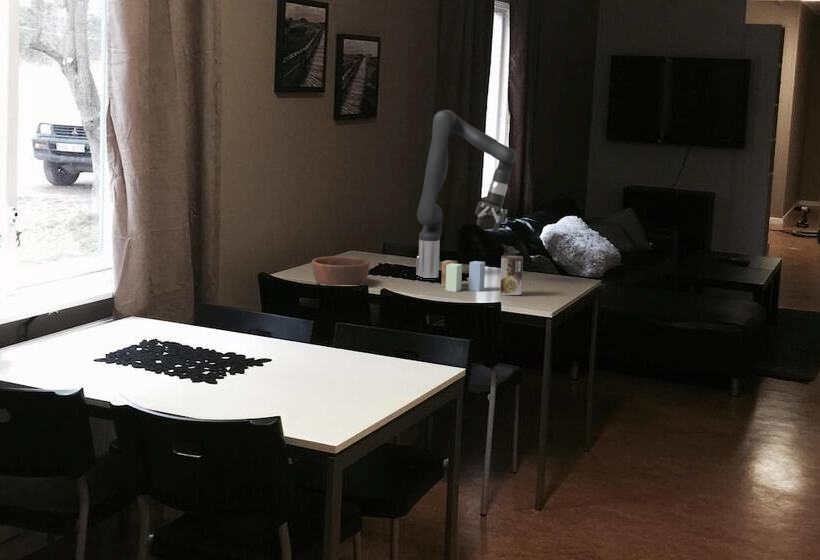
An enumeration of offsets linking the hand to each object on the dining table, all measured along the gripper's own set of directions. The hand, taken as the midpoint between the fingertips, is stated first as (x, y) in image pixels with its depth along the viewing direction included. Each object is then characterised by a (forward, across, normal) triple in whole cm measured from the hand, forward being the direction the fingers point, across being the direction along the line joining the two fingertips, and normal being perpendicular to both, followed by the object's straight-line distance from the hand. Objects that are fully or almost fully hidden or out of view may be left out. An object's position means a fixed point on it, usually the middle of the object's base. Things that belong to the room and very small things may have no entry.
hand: (486, 228), depth 477 cm
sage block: (+28, +1, -16) cm, 32 cm away
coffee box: (+23, +24, -8) cm, 34 cm away
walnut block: (+28, -4, -11) cm, 30 cm away
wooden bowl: (+40, -42, -36) cm, 68 cm away
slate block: (+26, +9, -10) cm, 29 cm away
